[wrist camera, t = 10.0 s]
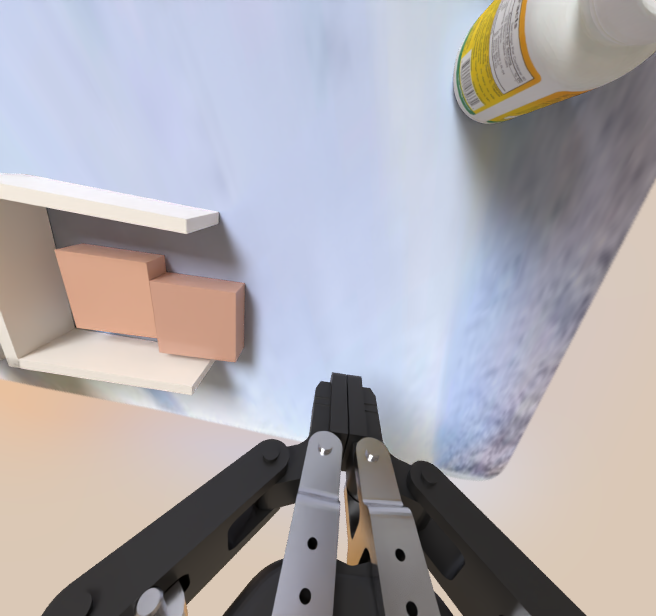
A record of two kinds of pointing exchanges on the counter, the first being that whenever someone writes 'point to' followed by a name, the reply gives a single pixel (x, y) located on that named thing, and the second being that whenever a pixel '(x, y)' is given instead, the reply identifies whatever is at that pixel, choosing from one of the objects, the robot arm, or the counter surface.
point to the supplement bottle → (548, 53)
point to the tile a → (110, 287)
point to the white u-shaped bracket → (50, 294)
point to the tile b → (198, 316)
